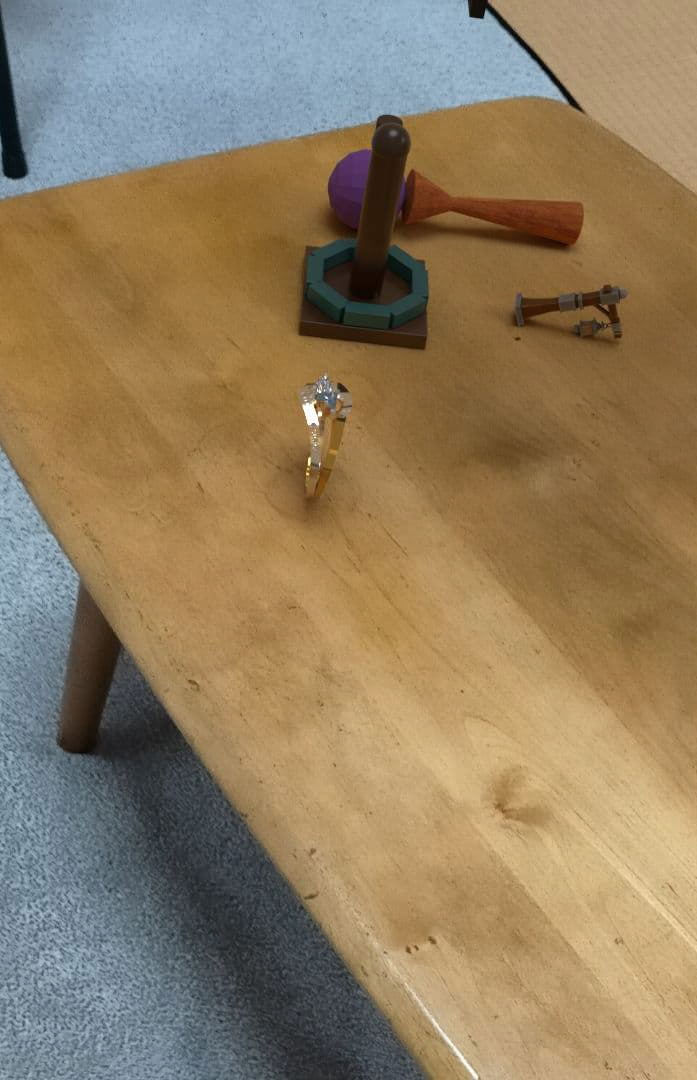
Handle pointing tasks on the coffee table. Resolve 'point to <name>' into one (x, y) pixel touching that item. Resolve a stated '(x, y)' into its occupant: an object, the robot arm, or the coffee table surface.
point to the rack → (371, 253)
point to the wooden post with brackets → (571, 302)
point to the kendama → (451, 203)
